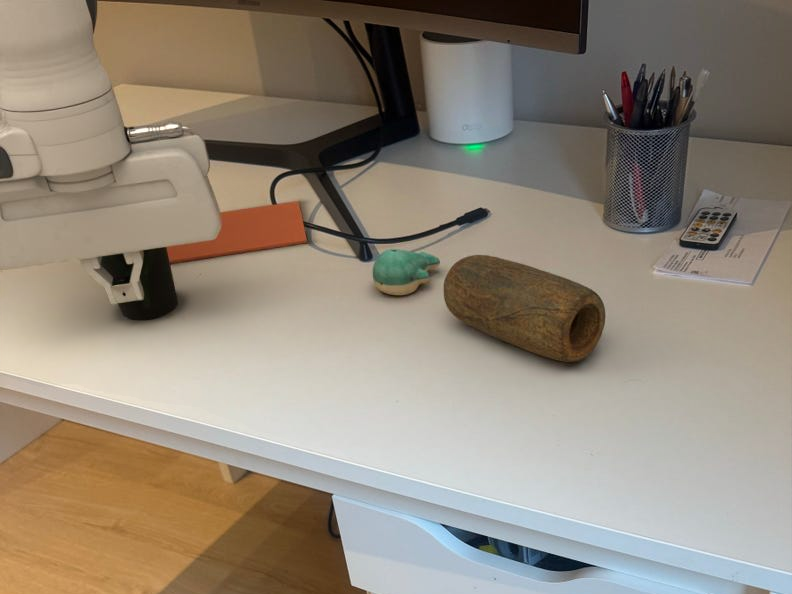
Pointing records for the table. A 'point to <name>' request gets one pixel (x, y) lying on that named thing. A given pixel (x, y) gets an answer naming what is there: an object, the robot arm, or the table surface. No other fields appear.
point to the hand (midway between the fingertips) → (128, 299)
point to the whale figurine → (402, 270)
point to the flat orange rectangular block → (248, 233)
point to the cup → (146, 284)
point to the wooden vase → (525, 306)
